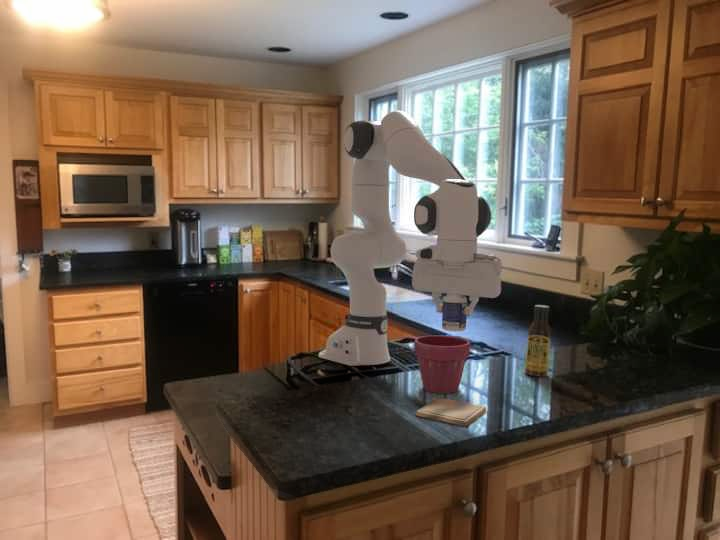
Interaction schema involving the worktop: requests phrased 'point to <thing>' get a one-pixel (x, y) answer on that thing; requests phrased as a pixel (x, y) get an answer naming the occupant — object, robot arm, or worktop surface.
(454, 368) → the plant pot
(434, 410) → the wooden coaster
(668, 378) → the worktop surface
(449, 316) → the pill bottle
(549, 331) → the sauce bottle
